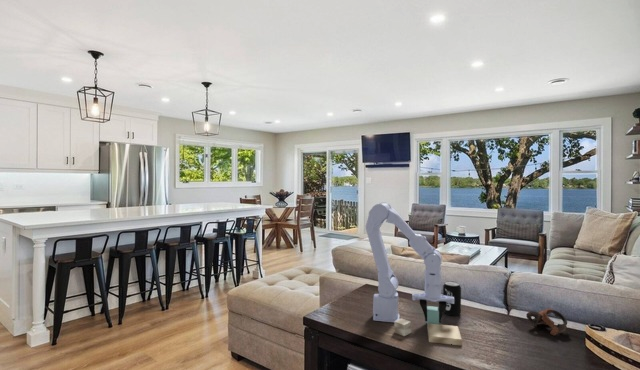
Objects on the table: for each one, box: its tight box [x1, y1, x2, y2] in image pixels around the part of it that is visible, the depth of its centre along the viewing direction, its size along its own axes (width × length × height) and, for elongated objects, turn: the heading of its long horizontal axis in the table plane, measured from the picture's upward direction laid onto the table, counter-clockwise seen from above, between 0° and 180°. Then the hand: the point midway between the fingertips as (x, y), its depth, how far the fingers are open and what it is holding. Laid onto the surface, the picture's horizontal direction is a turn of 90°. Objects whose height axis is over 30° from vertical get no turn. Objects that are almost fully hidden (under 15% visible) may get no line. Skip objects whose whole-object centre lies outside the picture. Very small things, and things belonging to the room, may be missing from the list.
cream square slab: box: [427, 323, 463, 346], centre depth 116 cm, size 10×10×2 cm
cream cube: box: [393, 317, 412, 337], centre depth 119 cm, size 4×4×4 cm
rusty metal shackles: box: [526, 308, 568, 336], centre depth 121 cm, size 12×10×8 cm
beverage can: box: [442, 280, 462, 317], centre depth 136 cm, size 7×7×12 cm
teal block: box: [426, 305, 440, 328], centre depth 125 cm, size 4×4×6 cm
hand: (432, 320), depth 125 cm, fingers closed on teal block, 4 cm apart
